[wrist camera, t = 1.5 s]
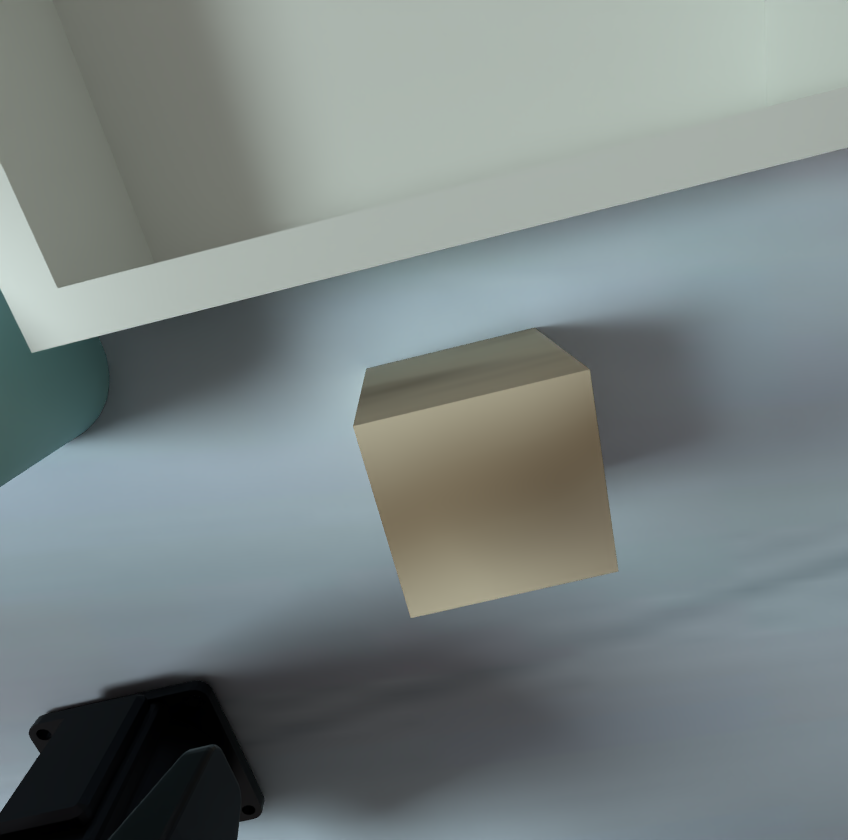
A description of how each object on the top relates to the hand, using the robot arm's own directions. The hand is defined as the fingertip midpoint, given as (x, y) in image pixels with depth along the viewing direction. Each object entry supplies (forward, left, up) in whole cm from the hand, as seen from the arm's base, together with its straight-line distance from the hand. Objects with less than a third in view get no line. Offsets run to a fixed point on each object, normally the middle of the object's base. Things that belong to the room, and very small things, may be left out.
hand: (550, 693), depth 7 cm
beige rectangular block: (0, 0, -10) cm, 10 cm away
